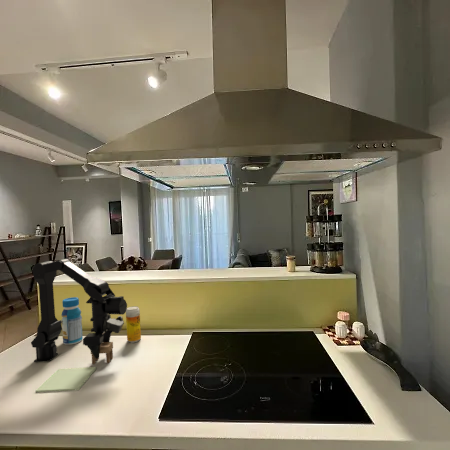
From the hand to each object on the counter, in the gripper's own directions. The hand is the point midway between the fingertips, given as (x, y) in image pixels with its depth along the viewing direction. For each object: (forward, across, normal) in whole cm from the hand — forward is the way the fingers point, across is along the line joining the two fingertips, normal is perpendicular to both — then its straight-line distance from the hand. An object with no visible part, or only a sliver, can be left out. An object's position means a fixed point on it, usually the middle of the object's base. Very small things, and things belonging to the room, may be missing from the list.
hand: (102, 352), depth 118 cm
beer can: (+3, +19, -7) cm, 21 cm away
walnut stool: (+3, 0, 0) cm, 3 cm away
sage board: (+3, -13, +7) cm, 15 cm away
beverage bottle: (+3, +21, +22) cm, 31 cm away
